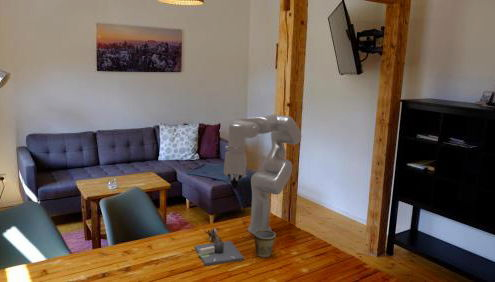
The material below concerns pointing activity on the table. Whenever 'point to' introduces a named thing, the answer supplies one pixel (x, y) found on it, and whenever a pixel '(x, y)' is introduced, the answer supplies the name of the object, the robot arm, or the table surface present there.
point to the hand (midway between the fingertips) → (234, 187)
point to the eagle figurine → (213, 235)
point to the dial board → (228, 254)
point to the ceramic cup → (264, 242)
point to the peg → (213, 248)
